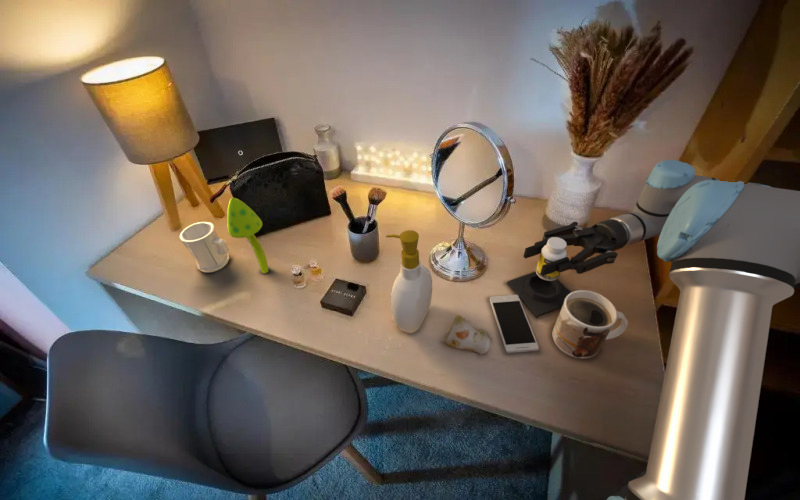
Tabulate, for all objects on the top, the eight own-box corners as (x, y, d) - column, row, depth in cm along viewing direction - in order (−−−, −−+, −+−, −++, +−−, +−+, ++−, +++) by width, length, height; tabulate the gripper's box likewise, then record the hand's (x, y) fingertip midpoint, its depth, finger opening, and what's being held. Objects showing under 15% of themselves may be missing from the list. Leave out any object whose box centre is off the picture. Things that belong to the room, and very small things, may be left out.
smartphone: (517, 296, 88) (517, 294, 87) (538, 350, 76) (539, 348, 76) (488, 298, 88) (489, 296, 87) (506, 353, 76) (506, 351, 76)
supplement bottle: (535, 280, 82) (544, 249, 76) (534, 264, 86) (543, 233, 80) (560, 283, 81) (571, 252, 75) (558, 266, 85) (568, 236, 79)
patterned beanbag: (488, 367, 74) (467, 343, 69) (452, 356, 81) (430, 334, 76) (500, 336, 78) (481, 311, 72) (464, 329, 85) (444, 306, 79)
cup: (234, 247, 109) (219, 216, 101) (237, 265, 102) (220, 234, 94) (198, 258, 106) (179, 227, 98) (199, 277, 99) (178, 246, 91)
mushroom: (246, 282, 97) (208, 208, 80) (254, 261, 103) (220, 189, 86) (276, 280, 97) (244, 206, 80) (282, 259, 103) (254, 186, 86)
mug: (564, 312, 84) (578, 280, 76) (618, 340, 77) (638, 309, 70) (544, 341, 78) (556, 310, 71) (599, 374, 72) (619, 343, 64)
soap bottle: (405, 291, 91) (399, 210, 74) (438, 300, 88) (440, 218, 71) (382, 335, 81) (369, 253, 64) (418, 347, 79) (415, 265, 61)
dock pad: (577, 302, 86) (580, 294, 84) (536, 318, 83) (538, 310, 81) (545, 270, 94) (547, 262, 92) (506, 283, 91) (508, 275, 89)
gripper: (641, 269, 80) (557, 301, 75) (582, 224, 93) (507, 249, 88) (655, 245, 75) (566, 277, 70) (591, 201, 88) (512, 225, 83)
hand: (533, 261), depth 79 cm, fingers closed on supplement bottle, 5 cm apart
